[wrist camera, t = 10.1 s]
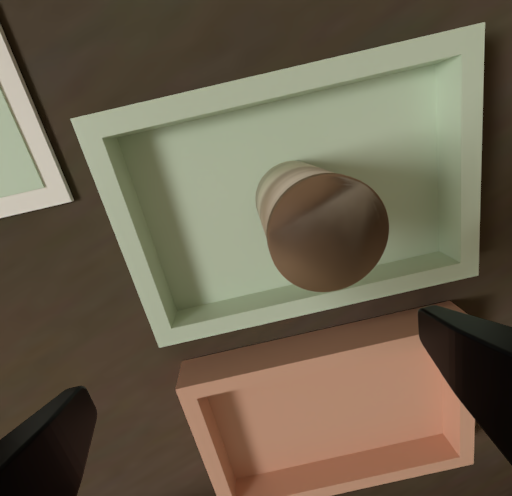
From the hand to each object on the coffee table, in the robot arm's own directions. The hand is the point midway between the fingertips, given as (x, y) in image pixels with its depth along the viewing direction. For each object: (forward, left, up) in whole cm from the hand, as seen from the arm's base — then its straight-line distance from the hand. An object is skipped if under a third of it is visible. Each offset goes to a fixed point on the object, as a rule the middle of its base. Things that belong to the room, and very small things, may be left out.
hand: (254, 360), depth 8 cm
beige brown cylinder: (+2, -3, -10) cm, 11 cm away
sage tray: (+2, -3, -11) cm, 11 cm away
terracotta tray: (-13, -3, -11) cm, 17 cm away
